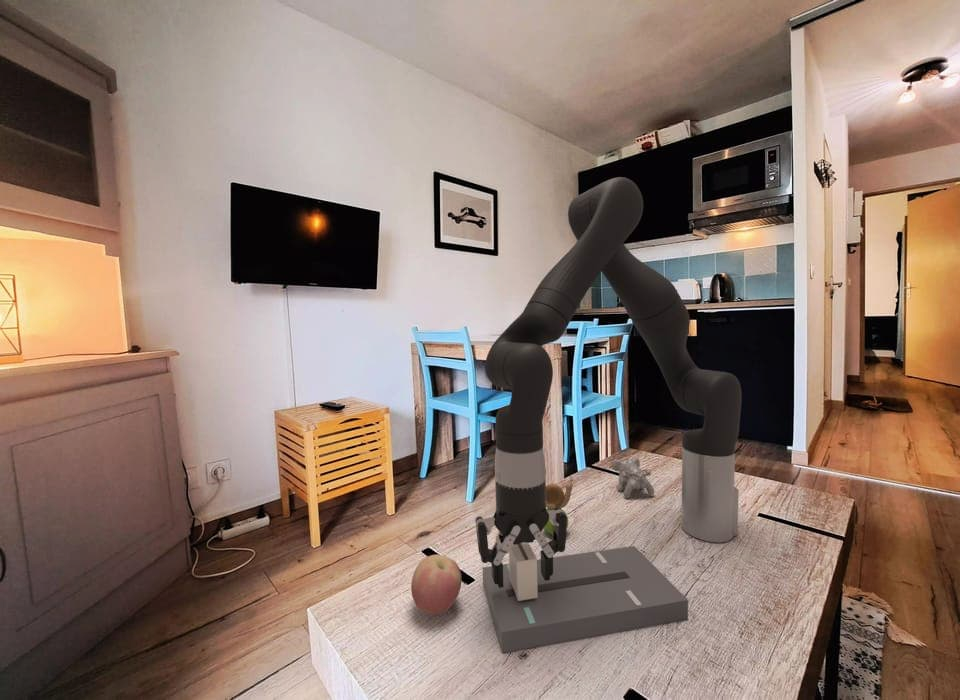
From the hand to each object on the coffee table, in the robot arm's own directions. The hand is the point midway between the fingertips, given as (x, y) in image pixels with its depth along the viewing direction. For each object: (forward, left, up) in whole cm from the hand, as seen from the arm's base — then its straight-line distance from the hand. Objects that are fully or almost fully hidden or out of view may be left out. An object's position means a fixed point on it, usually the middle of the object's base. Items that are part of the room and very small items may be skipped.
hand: (522, 580), depth 60 cm
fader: (0, 0, -1) cm, 1 cm away
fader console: (-9, 0, -5) cm, 10 cm away
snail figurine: (-13, -19, -5) cm, 24 cm away
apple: (+13, -3, -5) cm, 14 cm away
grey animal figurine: (-38, -34, -5) cm, 51 cm away
